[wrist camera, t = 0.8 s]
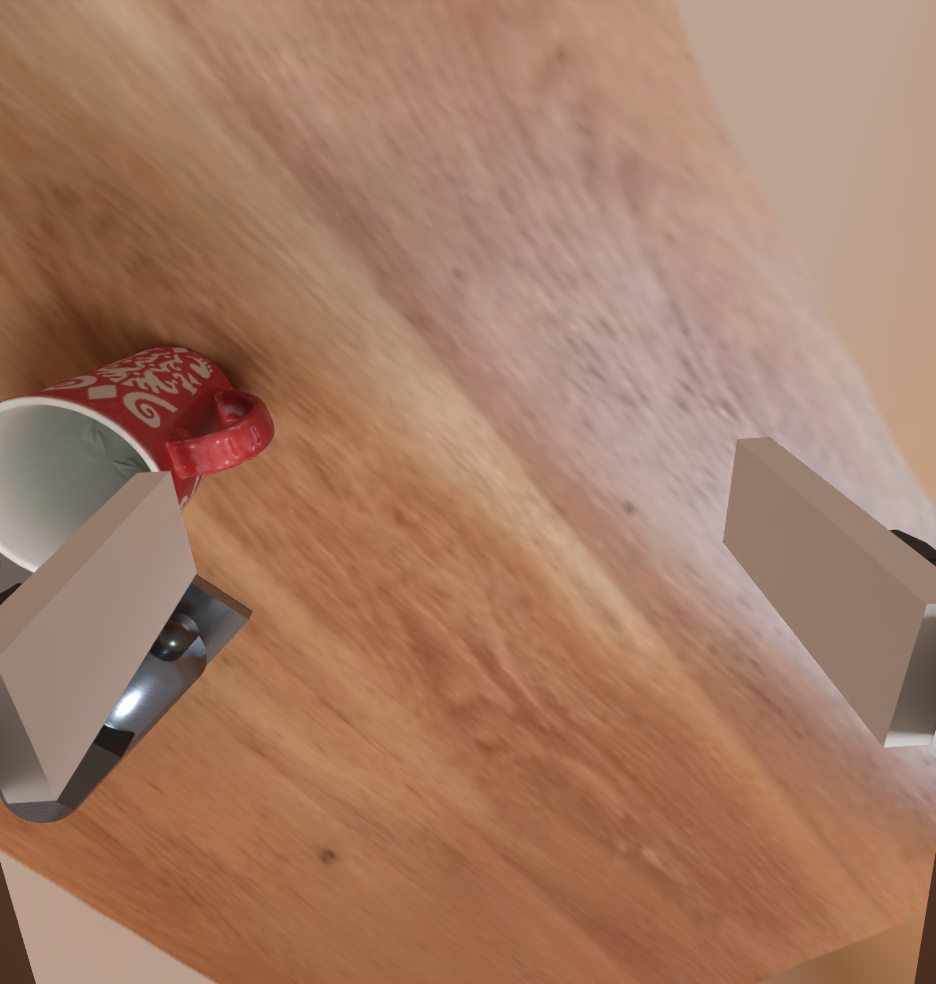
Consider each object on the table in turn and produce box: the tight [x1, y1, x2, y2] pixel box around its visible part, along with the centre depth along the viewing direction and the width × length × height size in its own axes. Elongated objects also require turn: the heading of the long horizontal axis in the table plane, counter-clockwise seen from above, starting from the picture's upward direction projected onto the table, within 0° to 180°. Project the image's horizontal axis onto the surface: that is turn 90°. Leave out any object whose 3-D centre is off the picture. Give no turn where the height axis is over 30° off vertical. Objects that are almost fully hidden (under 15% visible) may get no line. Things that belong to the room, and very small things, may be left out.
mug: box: [0, 346, 274, 573], centre depth 35 cm, size 13×9×14 cm
